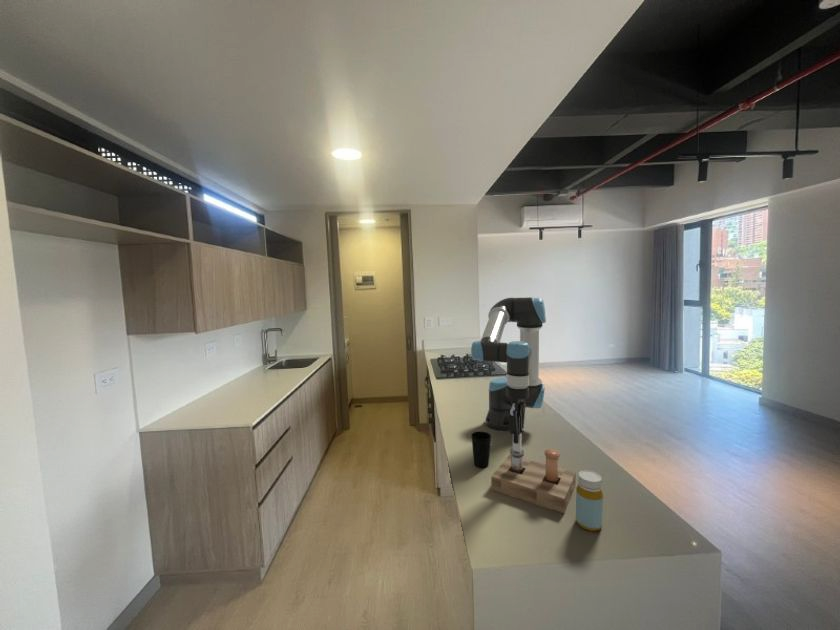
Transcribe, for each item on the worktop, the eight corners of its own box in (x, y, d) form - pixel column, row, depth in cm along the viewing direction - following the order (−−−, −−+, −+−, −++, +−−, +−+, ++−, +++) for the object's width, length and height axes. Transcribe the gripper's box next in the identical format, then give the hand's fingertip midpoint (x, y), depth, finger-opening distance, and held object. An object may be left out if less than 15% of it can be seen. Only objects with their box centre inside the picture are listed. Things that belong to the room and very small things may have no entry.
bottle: (594, 516, 108) (595, 469, 106) (606, 532, 101) (608, 482, 99) (571, 516, 108) (572, 470, 106) (582, 533, 101) (584, 483, 99)
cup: (476, 471, 135) (476, 440, 134) (468, 461, 142) (468, 432, 141) (494, 467, 137) (494, 438, 136) (485, 458, 144) (485, 430, 143)
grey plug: (512, 470, 129) (512, 446, 129) (525, 474, 127) (525, 450, 126) (508, 476, 125) (508, 452, 125) (521, 480, 123) (521, 455, 122)
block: (509, 467, 137) (509, 454, 137) (575, 485, 124) (575, 472, 123) (491, 489, 122) (491, 476, 122) (564, 514, 109) (564, 498, 108)
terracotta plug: (546, 472, 122) (546, 447, 122) (560, 476, 120) (561, 451, 119) (542, 479, 118) (542, 453, 118) (557, 483, 116) (558, 457, 115)
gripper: (513, 380, 131) (512, 441, 133) (500, 388, 120) (500, 455, 122) (533, 382, 126) (532, 446, 128) (522, 392, 116) (521, 461, 118)
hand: (517, 450), depth 125 cm, fingers closed
